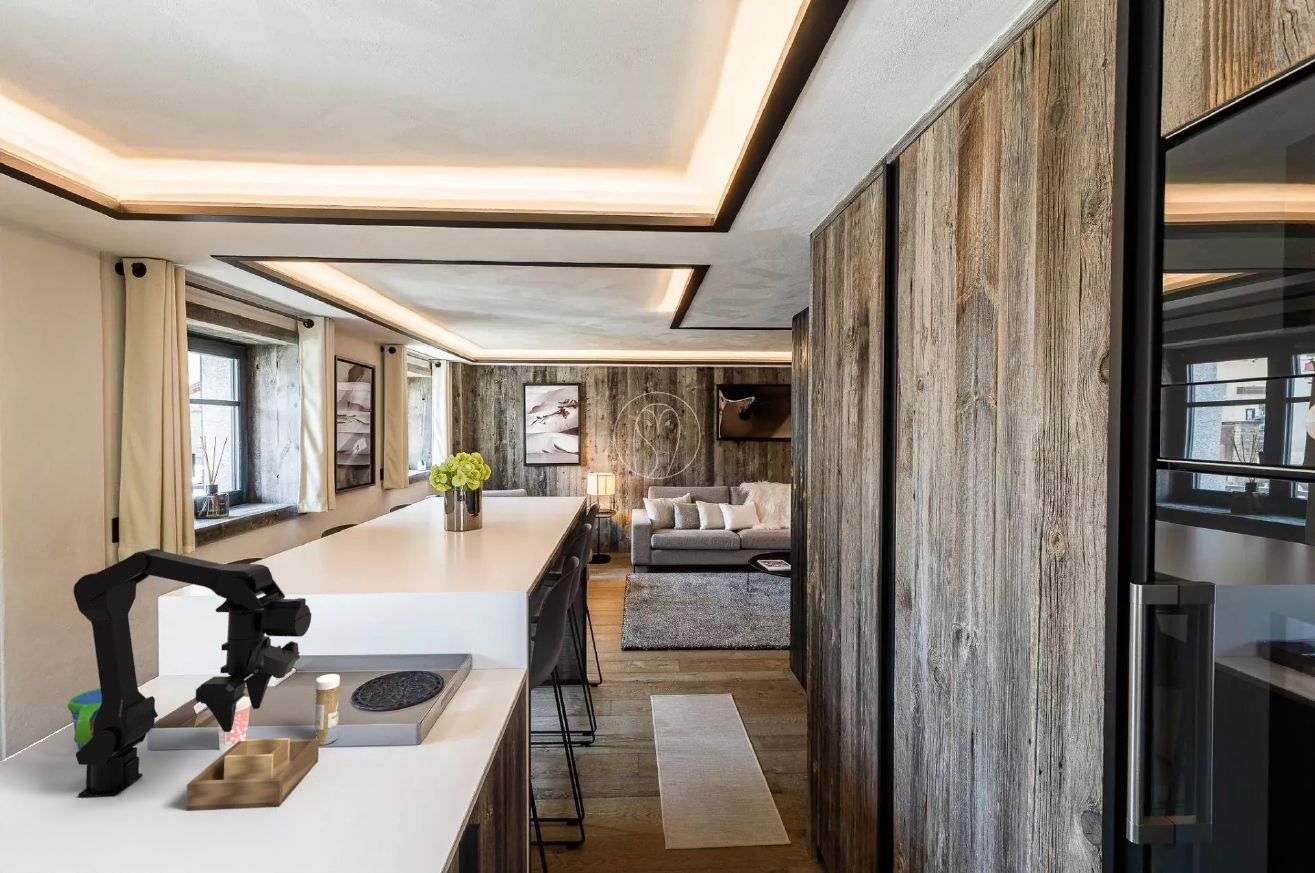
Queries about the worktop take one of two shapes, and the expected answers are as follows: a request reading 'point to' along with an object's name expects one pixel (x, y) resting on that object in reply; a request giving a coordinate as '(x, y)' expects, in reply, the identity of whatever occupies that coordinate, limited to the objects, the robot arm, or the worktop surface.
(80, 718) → the snack cup
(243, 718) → the beverage cup
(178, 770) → the worktop surface
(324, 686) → the spice jar
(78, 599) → the robot arm
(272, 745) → the oak crate
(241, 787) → the walnut crate
